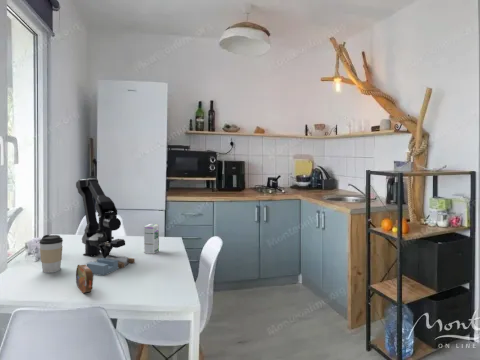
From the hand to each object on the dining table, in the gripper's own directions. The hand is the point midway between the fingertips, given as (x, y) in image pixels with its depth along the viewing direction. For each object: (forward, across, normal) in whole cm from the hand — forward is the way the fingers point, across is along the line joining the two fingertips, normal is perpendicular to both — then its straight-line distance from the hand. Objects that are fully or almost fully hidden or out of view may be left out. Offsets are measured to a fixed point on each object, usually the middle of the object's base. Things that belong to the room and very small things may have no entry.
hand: (105, 259), depth 162 cm
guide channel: (+1, +7, 0) cm, 7 cm away
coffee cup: (+1, -13, -18) cm, 23 cm away
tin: (+2, +16, -29) cm, 33 cm away
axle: (-1, +7, 0) cm, 7 cm away
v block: (+1, +8, -10) cm, 13 cm away
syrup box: (+1, +10, +23) cm, 25 cm away
